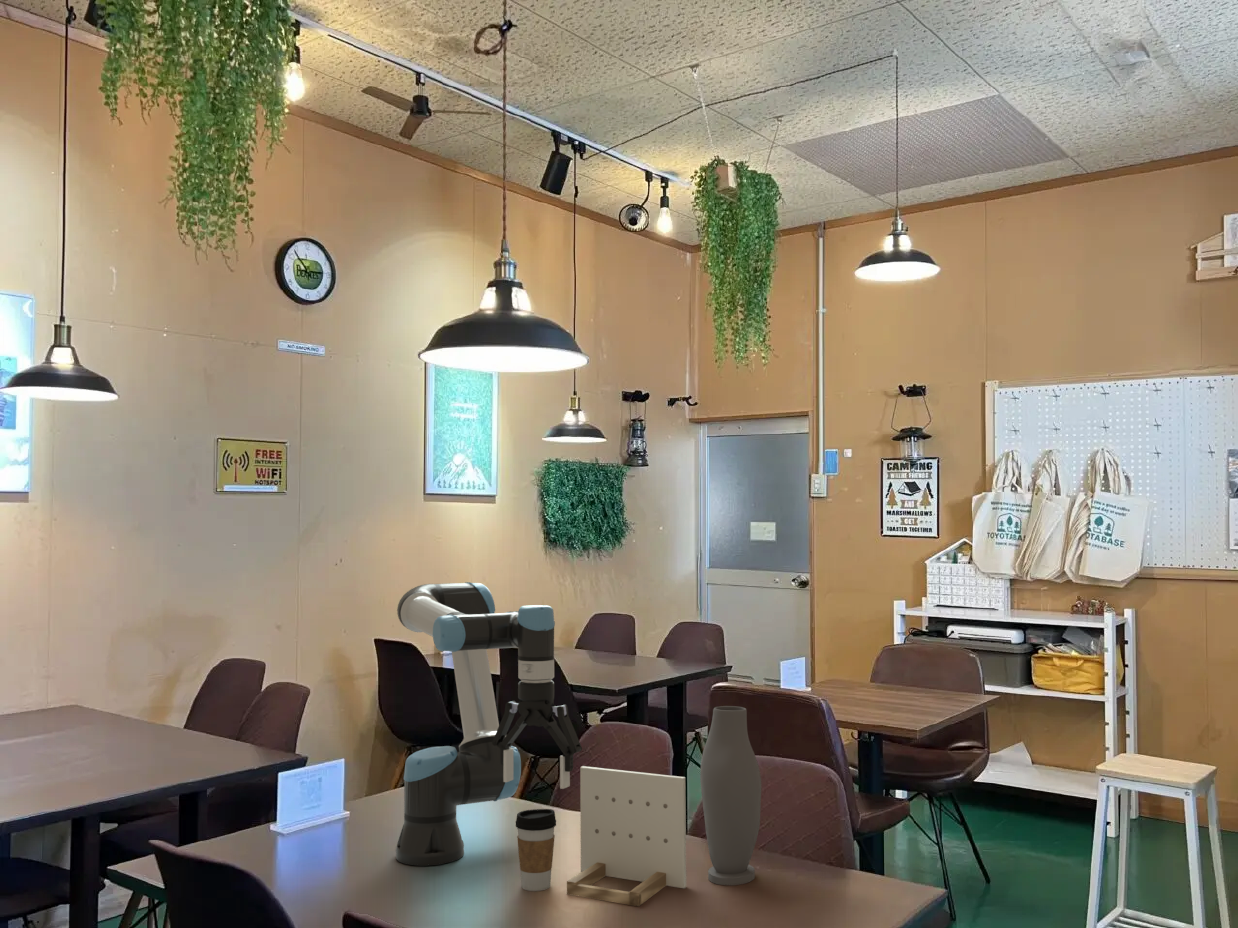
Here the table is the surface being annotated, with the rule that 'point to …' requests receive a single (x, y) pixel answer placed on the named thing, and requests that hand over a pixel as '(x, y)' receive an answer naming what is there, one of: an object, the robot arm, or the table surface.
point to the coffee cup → (535, 847)
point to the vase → (730, 797)
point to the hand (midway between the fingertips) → (536, 784)
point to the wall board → (633, 824)
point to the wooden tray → (635, 897)
